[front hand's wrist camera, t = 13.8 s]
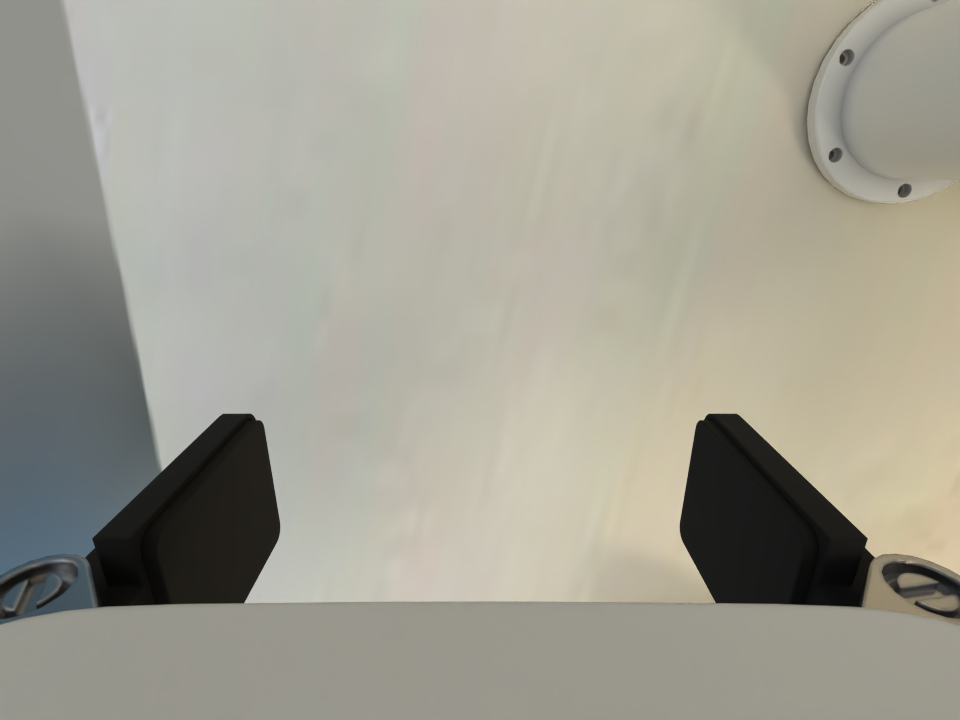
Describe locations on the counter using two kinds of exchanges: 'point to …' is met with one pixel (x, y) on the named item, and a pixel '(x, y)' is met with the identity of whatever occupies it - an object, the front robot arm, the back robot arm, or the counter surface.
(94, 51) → the counter surface
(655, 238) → the counter surface
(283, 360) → the counter surface
